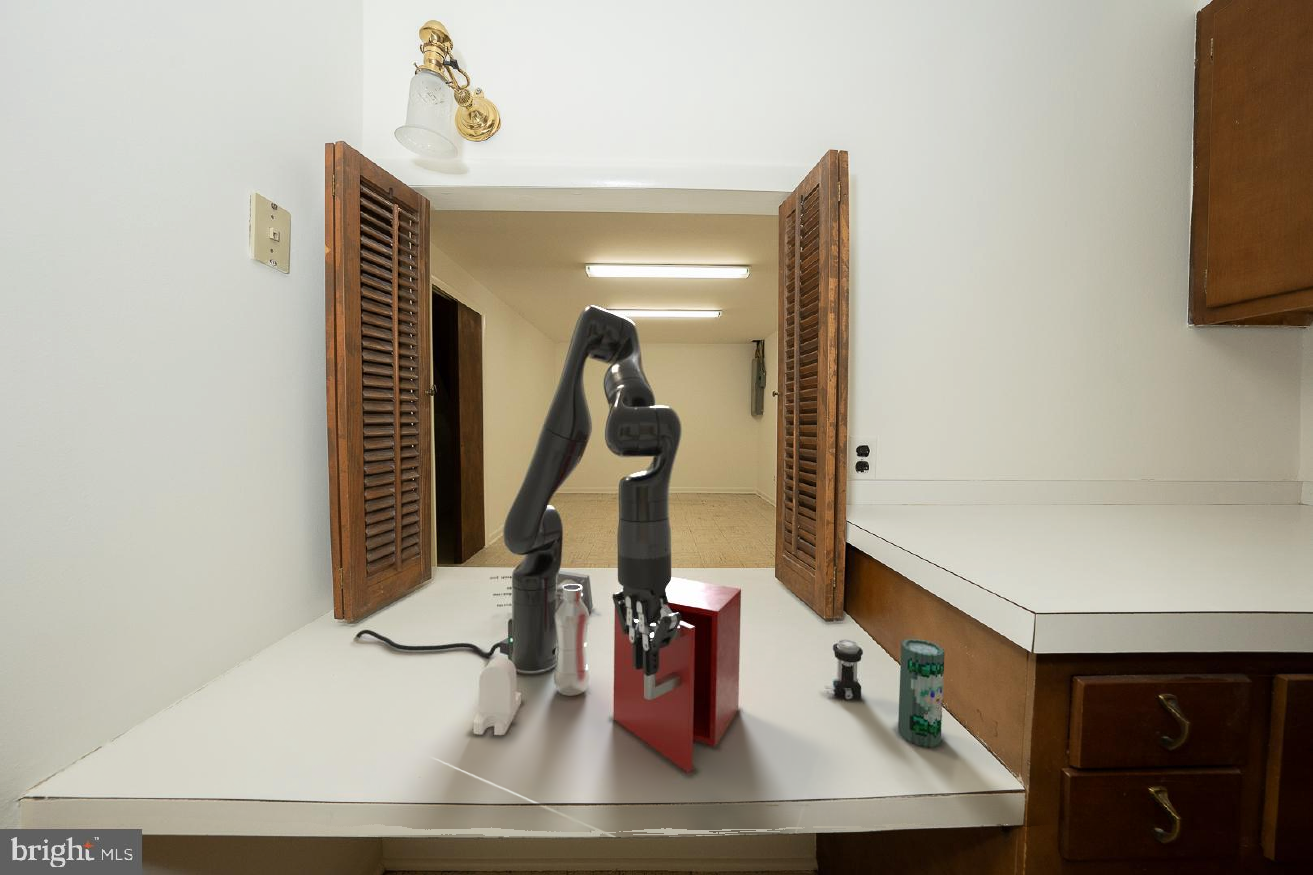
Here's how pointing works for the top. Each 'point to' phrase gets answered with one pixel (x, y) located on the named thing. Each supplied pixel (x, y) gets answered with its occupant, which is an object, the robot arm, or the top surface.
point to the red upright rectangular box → (711, 652)
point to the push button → (846, 670)
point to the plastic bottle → (571, 642)
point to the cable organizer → (497, 696)
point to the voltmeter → (567, 579)
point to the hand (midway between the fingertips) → (645, 669)
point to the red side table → (658, 694)
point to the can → (921, 692)
